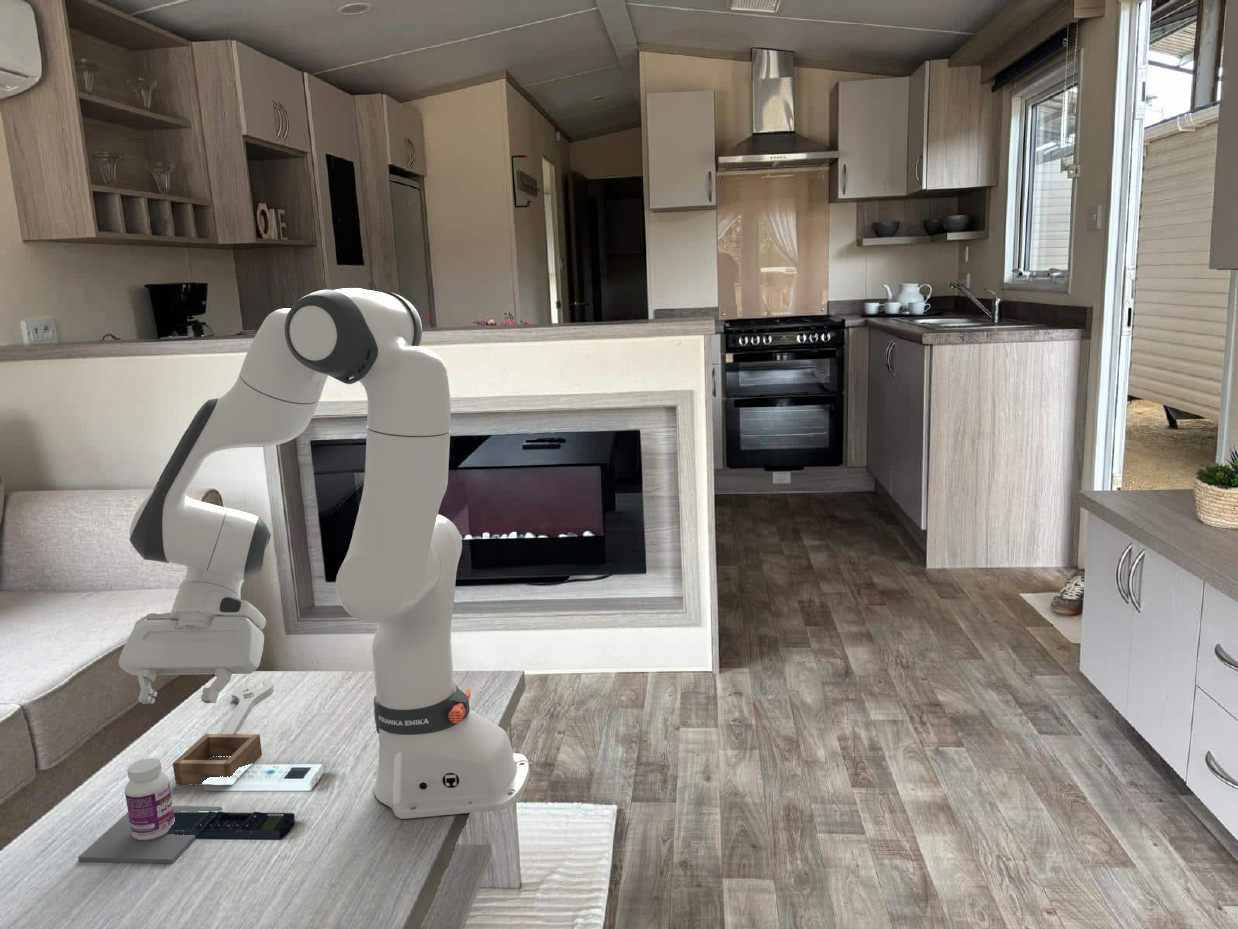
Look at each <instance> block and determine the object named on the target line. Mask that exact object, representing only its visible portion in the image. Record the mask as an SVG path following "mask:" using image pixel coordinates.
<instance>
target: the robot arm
mask: <svg viewBox="0 0 1238 929" xmlns="http://www.w3.org/2000/svg"><path fill="white" fill-rule="evenodd" d="M422 334H423V325H422V320H421V317H420V315H419V312H418V310H417V309H416V308H415V306H414V305H413V304H412V303H411V302H410V301H409V300H407V299H405V298H404V297H403V296H401V295H399V294H397V293H394V292H391V291H386V290H377V291H375V290H369V289H364V288H360V287H359V288H358V287H354V288H353V287H350V288H349V287H348V288H337V289H322V290H317V291H314V292H311V293H309V294H307V295H305V296H303V297H301V298H299V299H298V300H297V301H296V302H295V303H293V305H292V306H291V307H290V308H280V309H276V310H274V311H272V312H271V313H269V314H268V315H266V317H265V318H264V320H263V322H262V323H261V325H260V326H259V329H258V330H257V332H256V333H255V336H254V337H253V340H252V342H251V344H250V345H249V348H248V350H247V352H246V355H245V357H244V359H243V360H244V361H243V363H242V366H241V368H240V372H239V374H238V377H237V379H236V382H235V383H234V384H233V386H232V387H231V389H230V390H228V391H227V392H226V393H225V394H223V395H222V396H221V397H219V398H211V399H208V400H206V401H205V402H204V404H203V405H202V406H200V408H199V409H198V411H196V414H195V415H194V417H193V418H192V420H191V422H190V423H189V425H188V427H187V429H186V430H185V431H184V433H183V435H182V436H181V438H180V440H179V442H178V444H177V446H176V447H175V448H174V451H173V453H172V454H171V456H170V458H169V460H168V462H167V463H166V465H165V468H163V470H162V472H161V473H160V474H161V475H160V476H159V479H158V481H157V482H156V484H155V486H154V488H153V489H152V491H151V492H150V493H149V495H147V497H146V498H145V499H144V501H143V502H142V503H141V504H140V505H139V507H138V509H137V510H136V512H135V513H134V516H133V518H132V520H131V523H130V528H129V542H130V544H131V545H132V546H133V548H134V549H135V551H136V552H137V554H139V555H140V557H141V558H142V559H143V560H145V561H150V562H151V561H152V562H160V563H167V564H169V563H172V564H176V565H179V566H180V565H181V566H184V567H185V566H186V568H187V570H186V574H185V576H184V578H183V580H182V582H181V583H180V585H179V587H178V591H177V593H176V596H175V599H174V602H173V605H172V608H171V611H170V612H163V613H155V612H151V613H148V614H146V616H143V617H141V618H140V619H138V620H137V621H136V622H135V624H134V626H133V629H132V631H131V633H130V635H129V636H128V638H127V641H126V642H125V644H124V645H123V648H122V650H121V653H120V655H119V658H118V665H119V666H120V668H121V669H122V670H123V671H125V672H126V673H128V674H130V675H132V676H137V679H138V683H139V687H140V692H139V696H138V702H139V703H141V704H145V705H146V704H147V705H148V704H150V705H152V704H154V703H155V701H156V698H157V695H158V692H157V691H155V690H154V689H153V688H152V683H151V682H155V680H156V678H157V676H163V675H164V676H165V675H166V676H168V675H169V676H172V675H177V676H178V675H180V676H181V675H187V676H188V675H214V676H215V677H216V678H215V680H214V681H212V683H211V684H210V686H209V687H203V689H202V694H201V695H200V701H201V702H203V703H204V704H216V703H217V701H218V698H219V694H220V693H221V692H222V690H223V689H224V688H225V687H226V686H227V685H228V684H229V683H230V681H231V679H232V676H233V675H247V674H248V675H251V674H253V673H254V672H255V671H256V670H257V669H259V667H260V664H261V660H262V656H263V650H264V642H265V635H264V632H263V631H262V630H264V628H265V627H266V623H267V620H266V618H265V616H264V615H263V614H262V613H261V611H259V610H258V609H257V608H256V607H255V606H254V605H252V603H250V602H249V601H247V600H245V599H242V598H241V589H242V585H243V583H244V582H245V581H247V580H249V579H251V578H253V577H254V576H256V575H258V574H259V573H260V572H261V571H262V568H263V565H264V557H265V552H266V549H267V547H268V545H269V543H270V539H271V536H272V534H271V533H270V531H269V530H270V529H269V528H268V526H267V524H266V523H265V521H264V520H263V519H262V517H261V516H259V515H258V516H257V515H255V514H253V513H250V512H246V511H242V510H239V509H234V508H231V507H225V506H221V505H216V504H213V503H209V502H206V501H202V500H201V501H200V500H197V499H194V498H192V497H189V496H188V495H187V494H186V493H187V490H188V489H189V487H190V485H191V484H192V482H193V480H194V478H195V476H196V474H197V473H198V471H199V469H200V467H201V466H202V465H203V463H204V461H205V460H206V459H207V457H209V456H210V455H212V454H214V453H217V452H220V451H224V450H230V449H240V448H267V447H272V446H278V445H281V444H284V443H285V444H286V443H288V442H289V441H292V440H294V439H295V438H297V437H299V436H300V435H301V434H302V433H304V432H305V430H307V429H308V427H309V424H310V422H311V420H312V419H313V417H314V415H315V412H316V410H317V408H318V405H319V402H320V400H321V396H322V392H323V390H324V388H325V384H326V382H327V379H328V377H329V376H330V377H331V378H333V379H336V380H338V381H339V382H341V383H343V384H346V385H352V384H355V383H357V382H360V384H361V385H362V387H363V388H364V390H365V393H366V396H367V417H366V440H365V441H366V442H365V443H366V444H365V465H364V482H363V488H362V494H361V499H360V502H359V508H358V512H357V515H356V520H355V524H354V528H353V530H352V535H351V536H352V537H351V539H350V544H349V547H348V550H347V552H346V555H345V558H344V560H343V562H342V564H341V565H340V567H339V569H338V572H337V574H336V578H335V592H336V594H337V599H338V600H339V603H340V605H341V606H342V607H343V608H344V610H345V611H346V612H347V613H348V614H349V615H351V617H354V619H357V620H359V621H361V622H364V623H368V624H369V623H370V624H377V627H376V631H375V633H374V637H373V640H372V643H371V658H372V667H373V668H372V669H373V677H374V679H373V680H374V687H375V696H374V698H373V707H374V708H373V714H374V715H373V717H374V722H375V729H376V733H377V734H378V760H377V761H378V763H377V770H376V771H377V772H376V778H375V783H374V787H373V792H374V796H375V797H376V799H377V800H378V801H379V802H381V803H382V804H384V805H386V806H387V807H389V808H390V809H392V812H393V814H394V815H395V817H397V819H402V820H404V819H406V820H407V819H417V818H426V817H427V818H428V817H438V816H448V815H449V816H450V815H462V814H471V813H481V812H493V811H494V812H495V811H502V810H505V809H507V808H509V807H510V806H512V805H513V804H515V802H516V801H518V799H519V798H520V797H521V796H522V794H523V793H524V791H525V789H526V787H527V785H528V782H529V780H530V775H531V768H530V764H529V760H528V758H527V757H526V756H525V755H524V754H522V753H516V752H513V747H512V743H511V741H510V738H509V735H508V734H507V732H506V731H505V730H504V728H502V727H500V726H498V725H497V724H495V723H494V722H491V721H490V720H488V719H487V718H485V717H483V716H482V715H480V714H478V713H477V712H475V711H473V710H472V709H470V698H471V695H472V693H471V688H470V687H468V688H467V690H466V691H465V692H463V690H461V689H460V688H459V686H457V684H456V683H455V677H454V667H453V666H454V664H453V652H452V649H453V648H452V622H453V614H454V613H453V612H454V603H455V594H456V593H455V592H456V581H457V580H456V579H457V570H458V565H459V562H460V558H461V555H462V550H463V541H462V536H461V533H460V531H459V529H458V528H457V526H456V525H455V524H454V522H452V521H451V520H450V518H447V517H445V516H443V515H442V514H439V510H440V507H441V504H442V501H443V498H444V496H445V494H446V492H447V489H448V488H447V487H448V485H449V484H448V483H449V462H450V443H451V420H452V419H451V418H452V417H451V394H450V386H449V385H450V383H449V377H448V370H447V366H446V365H445V362H444V360H443V359H442V358H441V357H440V355H439V354H437V353H435V352H434V351H432V350H430V349H427V348H426V347H421V346H420V343H421V341H422Z"/></svg>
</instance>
